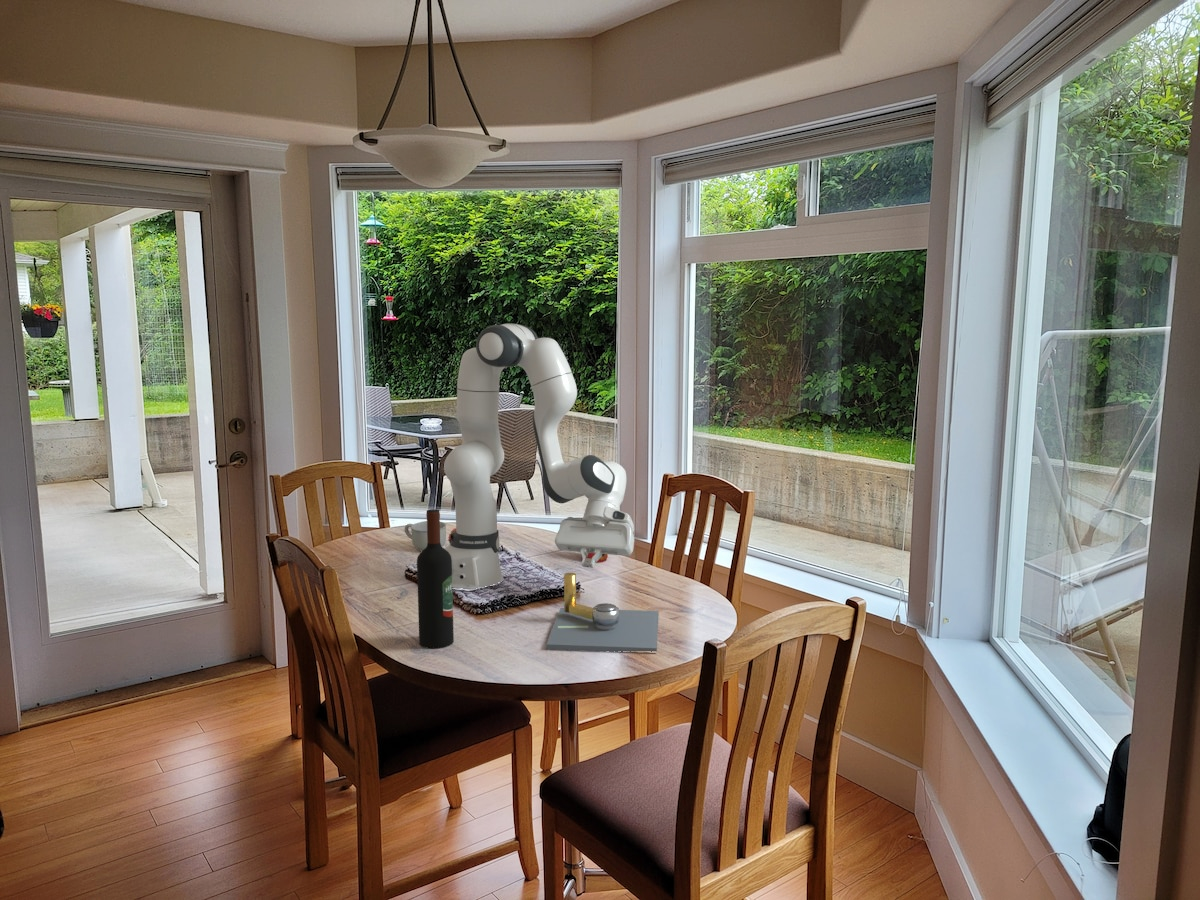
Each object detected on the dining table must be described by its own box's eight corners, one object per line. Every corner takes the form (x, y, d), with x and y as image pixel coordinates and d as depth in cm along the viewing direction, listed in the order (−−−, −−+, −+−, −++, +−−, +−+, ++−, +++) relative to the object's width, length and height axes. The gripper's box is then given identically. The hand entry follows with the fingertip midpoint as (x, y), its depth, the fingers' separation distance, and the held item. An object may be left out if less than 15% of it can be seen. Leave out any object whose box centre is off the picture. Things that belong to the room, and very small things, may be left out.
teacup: (453, 548, 269) (453, 523, 268) (429, 556, 260) (428, 530, 259) (421, 542, 277) (420, 518, 275) (396, 549, 268) (395, 524, 266)
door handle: (623, 620, 197) (624, 583, 196) (607, 627, 193) (607, 589, 191) (574, 606, 207) (574, 570, 206) (557, 612, 202) (557, 576, 201)
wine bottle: (421, 636, 194) (417, 507, 189) (455, 635, 194) (452, 506, 190) (417, 649, 186) (413, 514, 182) (452, 648, 187) (449, 514, 182)
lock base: (546, 649, 186) (546, 639, 186) (560, 612, 210) (560, 604, 210) (656, 653, 184) (656, 643, 184) (658, 615, 208) (658, 607, 208)
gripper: (559, 510, 221) (545, 556, 213) (635, 515, 214) (623, 563, 206) (566, 523, 226) (552, 569, 218) (640, 528, 219) (629, 576, 211)
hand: (587, 566), depth 212 cm, fingers closed
